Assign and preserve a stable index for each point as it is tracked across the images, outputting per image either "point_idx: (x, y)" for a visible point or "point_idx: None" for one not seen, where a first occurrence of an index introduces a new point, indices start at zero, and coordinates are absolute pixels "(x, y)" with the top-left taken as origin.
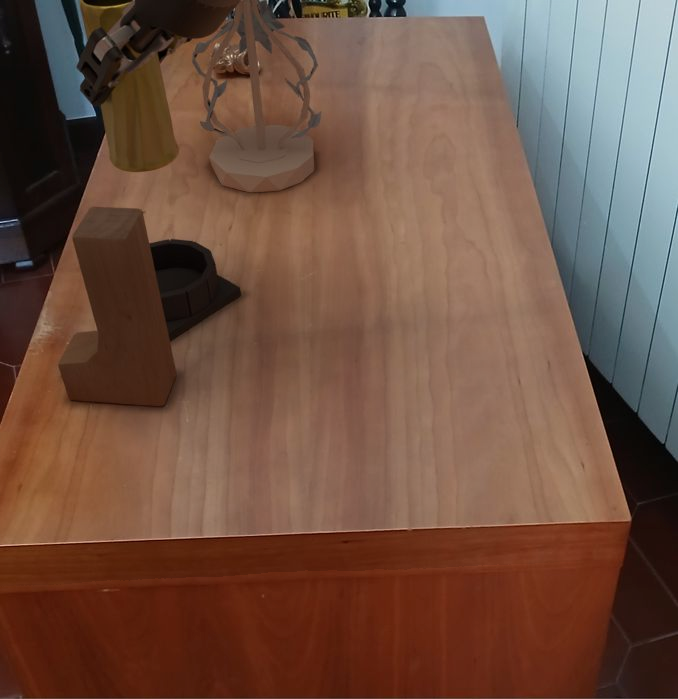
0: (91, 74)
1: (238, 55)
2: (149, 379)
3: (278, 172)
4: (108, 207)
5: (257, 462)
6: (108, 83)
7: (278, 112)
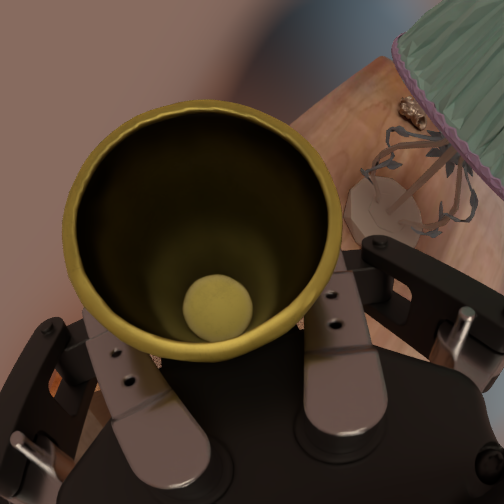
0: (55, 368)
1: (417, 114)
2: None
3: None
4: (93, 417)
5: None
6: (94, 386)
7: (417, 172)
